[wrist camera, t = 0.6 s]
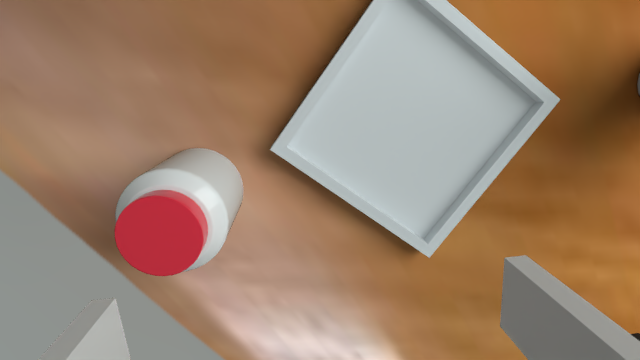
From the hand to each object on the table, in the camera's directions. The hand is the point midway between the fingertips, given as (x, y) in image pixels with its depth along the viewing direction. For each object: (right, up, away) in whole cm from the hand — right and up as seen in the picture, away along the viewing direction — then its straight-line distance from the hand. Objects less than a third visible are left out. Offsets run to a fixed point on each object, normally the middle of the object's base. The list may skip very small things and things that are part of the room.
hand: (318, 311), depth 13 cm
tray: (+8, +10, +21) cm, 25 cm away
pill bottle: (-11, +4, +22) cm, 25 cm away
